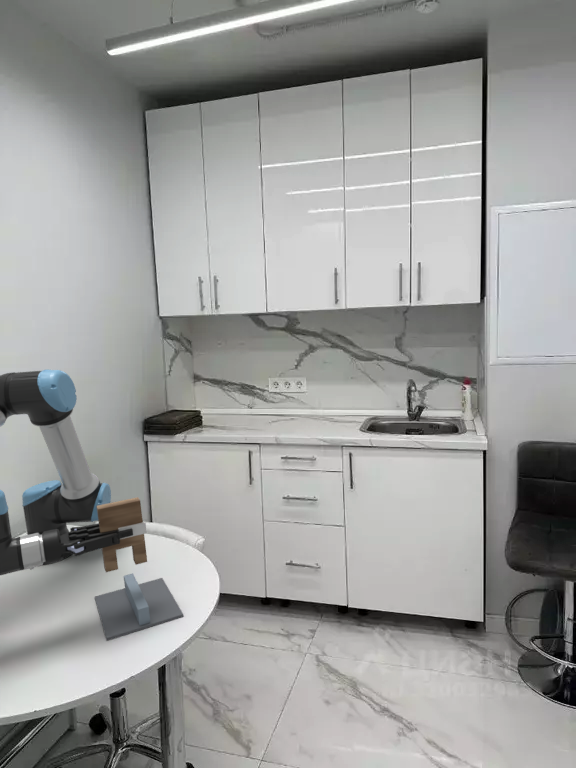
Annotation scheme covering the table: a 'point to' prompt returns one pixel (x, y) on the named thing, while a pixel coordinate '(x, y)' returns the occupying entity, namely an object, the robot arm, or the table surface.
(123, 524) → the brown notched block
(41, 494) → the robot arm
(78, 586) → the table surface
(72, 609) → the table surface
